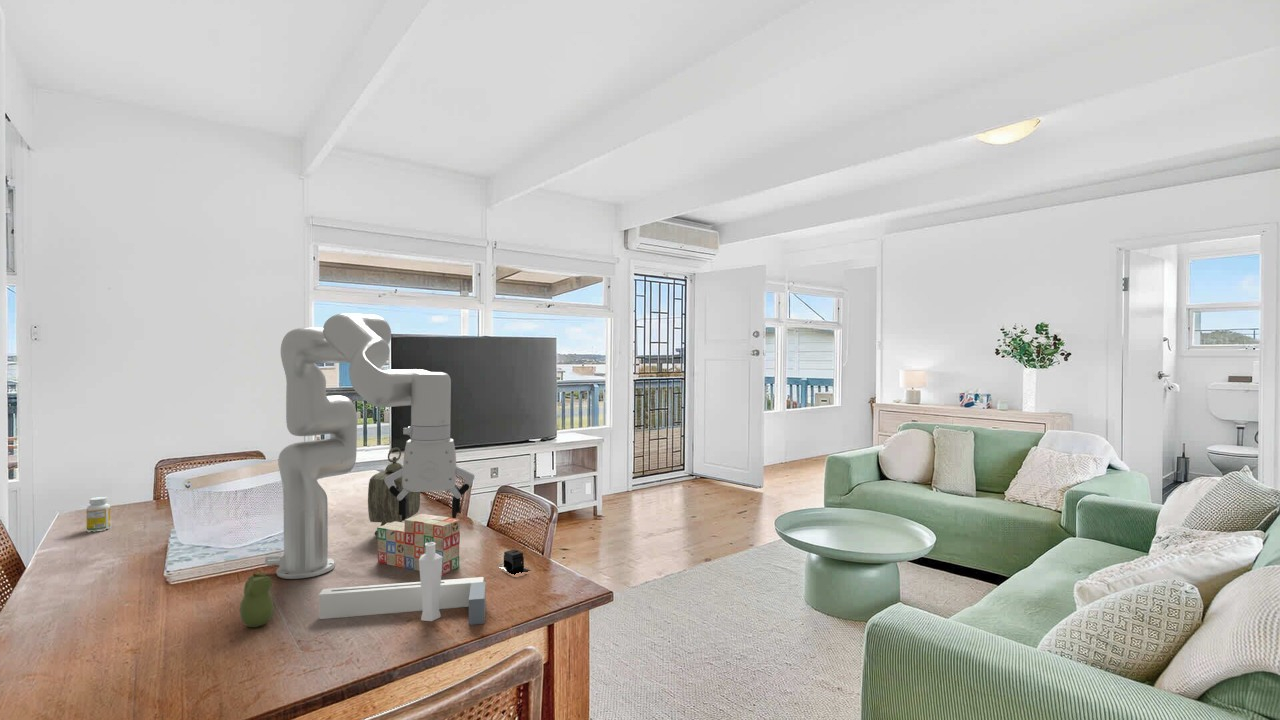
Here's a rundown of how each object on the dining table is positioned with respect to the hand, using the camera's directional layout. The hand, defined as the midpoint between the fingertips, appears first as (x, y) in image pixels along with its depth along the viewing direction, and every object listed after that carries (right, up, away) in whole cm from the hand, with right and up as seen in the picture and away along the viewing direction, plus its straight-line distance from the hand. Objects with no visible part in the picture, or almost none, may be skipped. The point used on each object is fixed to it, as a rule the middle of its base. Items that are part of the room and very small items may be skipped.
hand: (429, 517), depth 125 cm
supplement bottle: (-119, -19, +60) cm, 135 cm away
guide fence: (-5, -20, 0) cm, 21 cm away
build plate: (+11, -21, +28) cm, 36 cm away
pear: (-33, -21, -4) cm, 39 cm away
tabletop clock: (-30, -20, +59) cm, 69 cm away
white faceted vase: (0, -21, 0) cm, 21 cm away
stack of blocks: (-13, -20, +31) cm, 39 cm away
